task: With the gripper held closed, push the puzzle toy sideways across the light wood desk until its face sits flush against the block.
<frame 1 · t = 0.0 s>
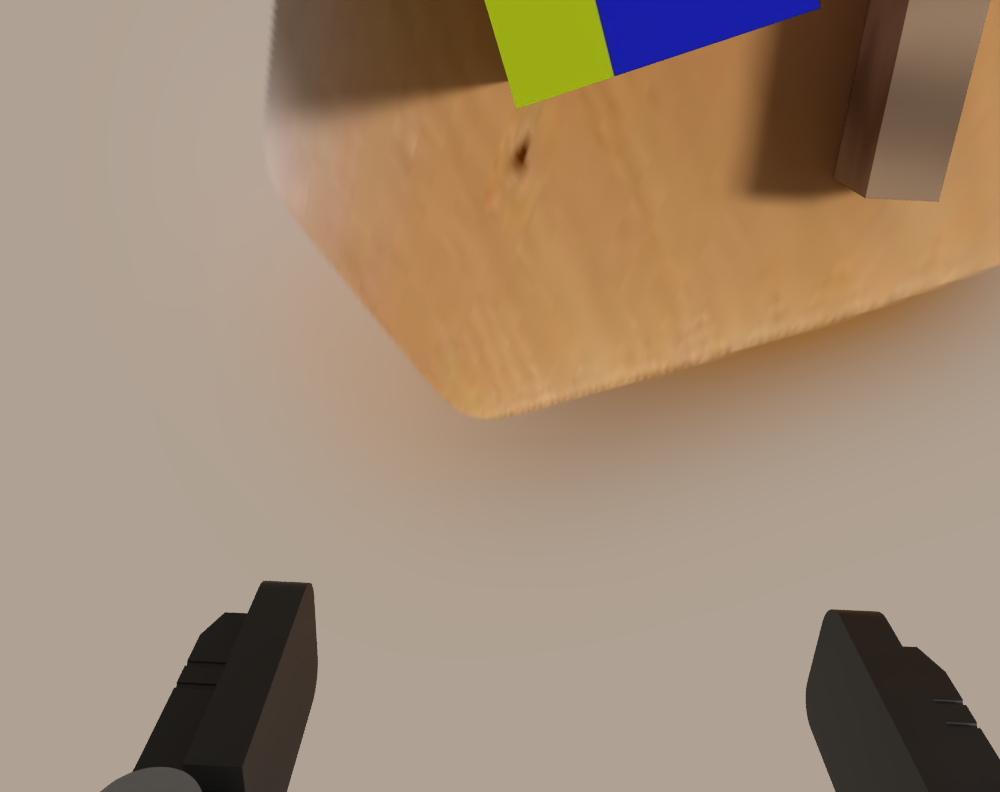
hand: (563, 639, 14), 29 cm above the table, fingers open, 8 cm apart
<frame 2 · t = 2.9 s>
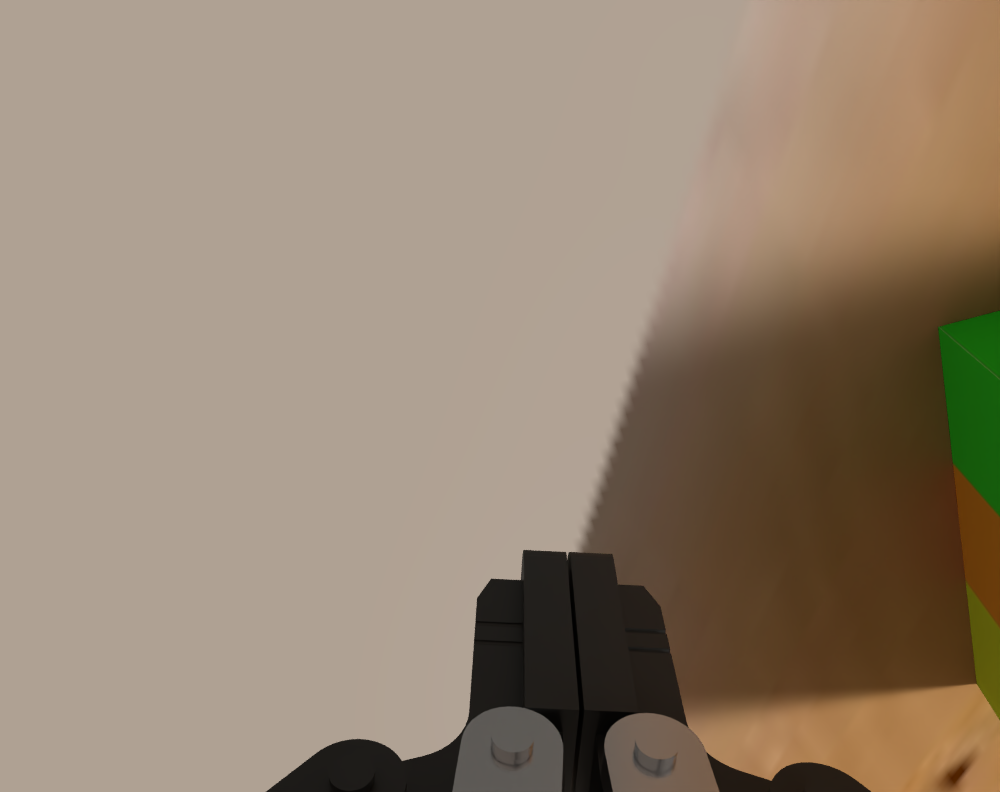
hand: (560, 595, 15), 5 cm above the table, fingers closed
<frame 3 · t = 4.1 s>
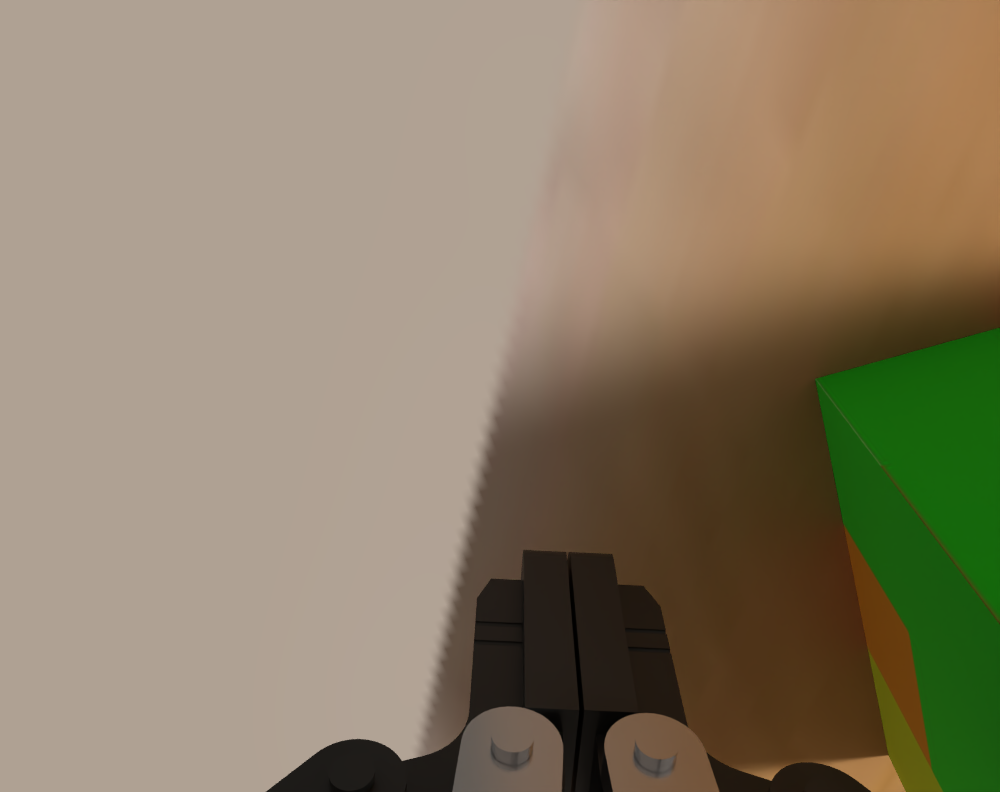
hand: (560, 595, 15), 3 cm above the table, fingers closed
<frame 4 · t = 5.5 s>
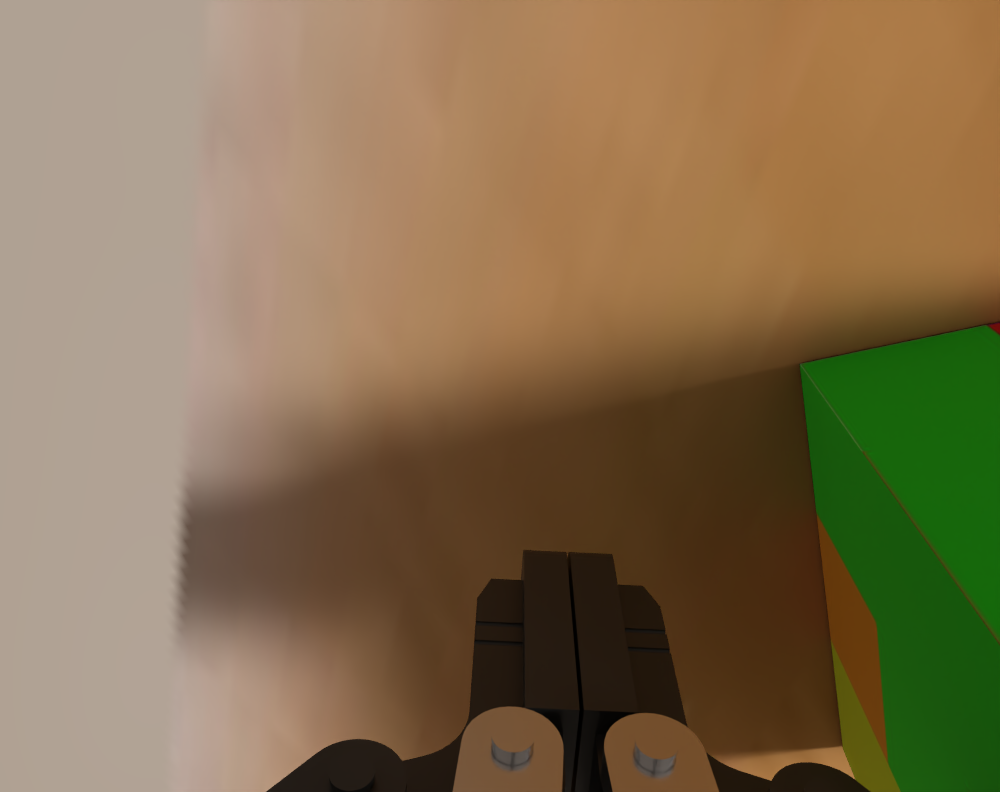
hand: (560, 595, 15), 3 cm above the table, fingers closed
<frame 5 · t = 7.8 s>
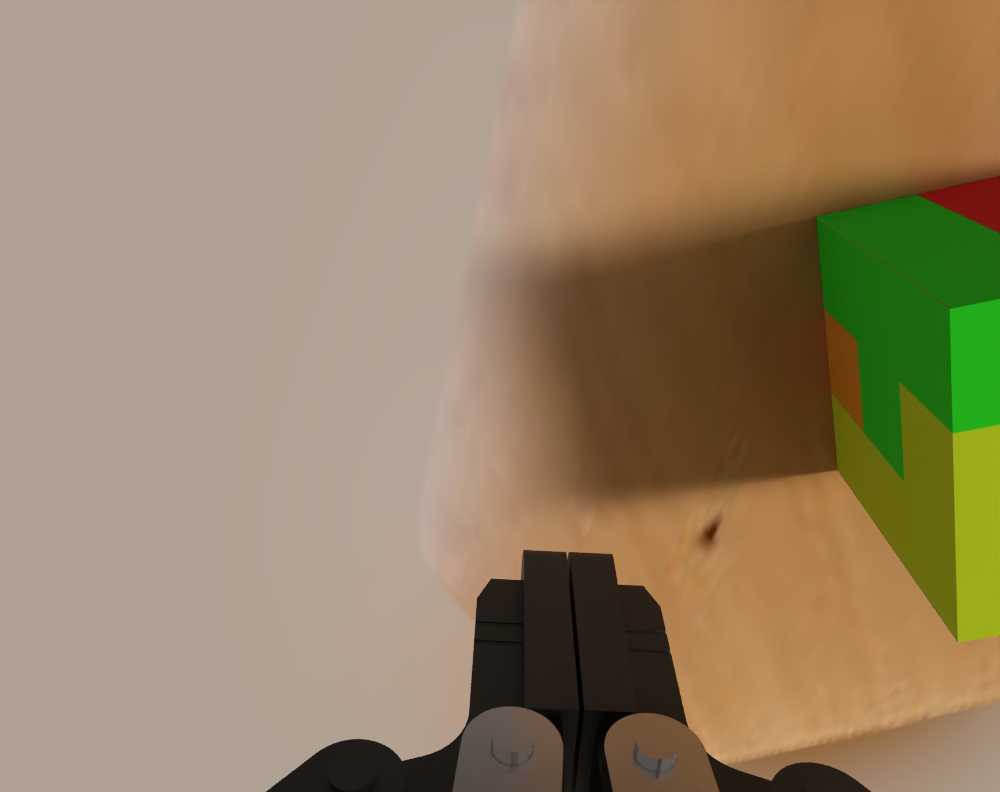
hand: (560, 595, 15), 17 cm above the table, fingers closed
puzzle toy: (966, 319, 31), on the table
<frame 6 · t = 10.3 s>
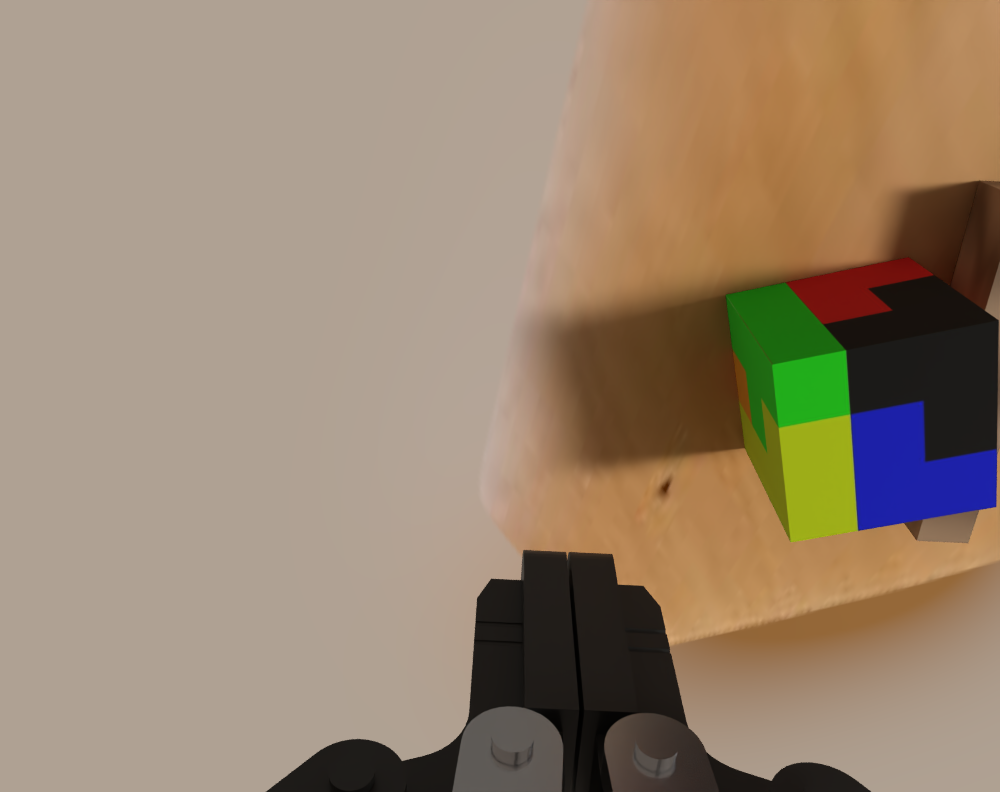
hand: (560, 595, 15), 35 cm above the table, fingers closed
puzzle toy: (821, 355, 51), on the table
block: (957, 357, 50), on the table
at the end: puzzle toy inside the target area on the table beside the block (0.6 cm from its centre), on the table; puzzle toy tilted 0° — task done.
